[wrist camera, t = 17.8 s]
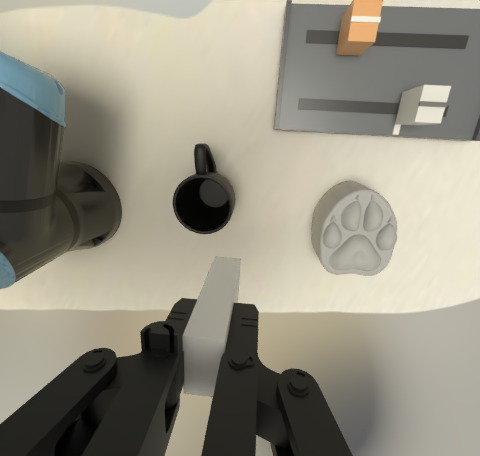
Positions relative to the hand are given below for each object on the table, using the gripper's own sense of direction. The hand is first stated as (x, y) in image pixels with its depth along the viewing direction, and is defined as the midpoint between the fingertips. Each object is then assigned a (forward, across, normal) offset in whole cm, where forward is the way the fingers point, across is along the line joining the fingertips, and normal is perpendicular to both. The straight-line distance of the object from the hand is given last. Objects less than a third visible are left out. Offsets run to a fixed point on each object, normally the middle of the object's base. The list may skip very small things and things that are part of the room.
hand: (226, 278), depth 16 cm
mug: (+30, -6, +1) cm, 30 cm away
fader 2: (+27, +21, +13) cm, 37 cm away
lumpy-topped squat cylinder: (+30, +16, -4) cm, 34 cm away
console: (+29, +17, +17) cm, 38 cm away
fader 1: (+27, +12, +21) cm, 36 cm away
